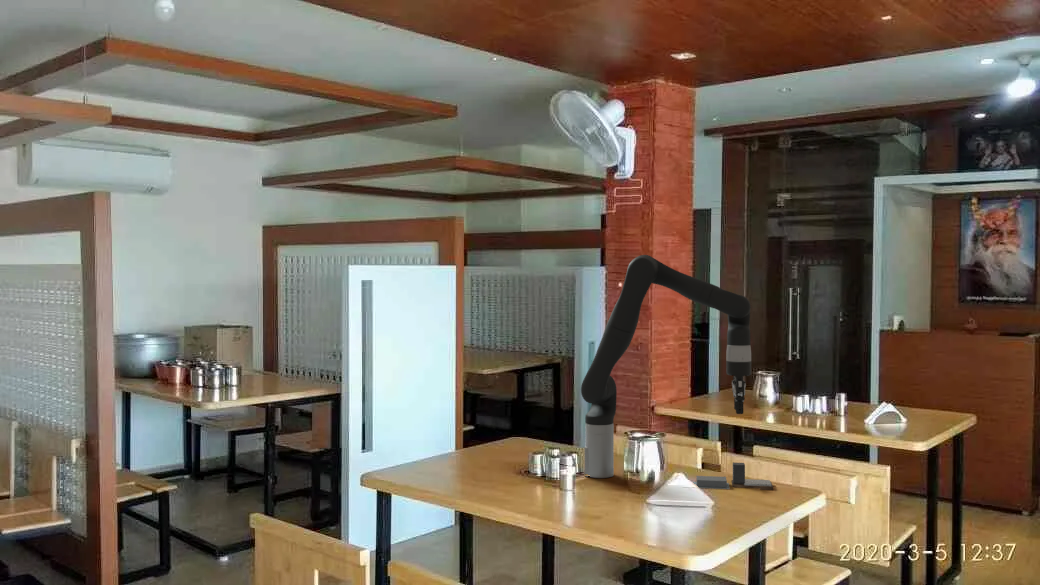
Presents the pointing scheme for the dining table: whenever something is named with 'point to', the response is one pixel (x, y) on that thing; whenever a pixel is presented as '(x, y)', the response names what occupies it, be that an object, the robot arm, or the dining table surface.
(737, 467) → the turner
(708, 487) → the mat
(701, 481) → the tile
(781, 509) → the dining table surface
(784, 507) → the dining table surface
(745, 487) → the rest board
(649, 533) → the dining table surface
